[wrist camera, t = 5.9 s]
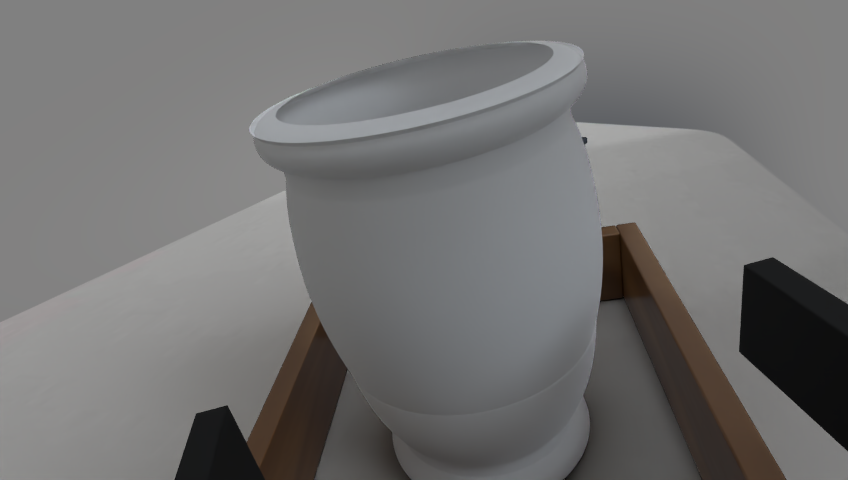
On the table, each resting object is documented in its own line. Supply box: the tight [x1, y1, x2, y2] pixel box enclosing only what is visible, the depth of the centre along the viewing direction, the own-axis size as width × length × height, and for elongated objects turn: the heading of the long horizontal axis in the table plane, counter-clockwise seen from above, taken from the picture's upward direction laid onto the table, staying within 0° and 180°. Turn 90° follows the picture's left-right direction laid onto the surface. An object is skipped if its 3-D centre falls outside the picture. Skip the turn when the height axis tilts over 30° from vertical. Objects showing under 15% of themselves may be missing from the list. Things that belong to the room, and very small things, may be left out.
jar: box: [249, 41, 603, 480], centre depth 20 cm, size 11×10×15 cm
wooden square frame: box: [247, 223, 786, 480], centre depth 23 cm, size 17×18×4 cm
